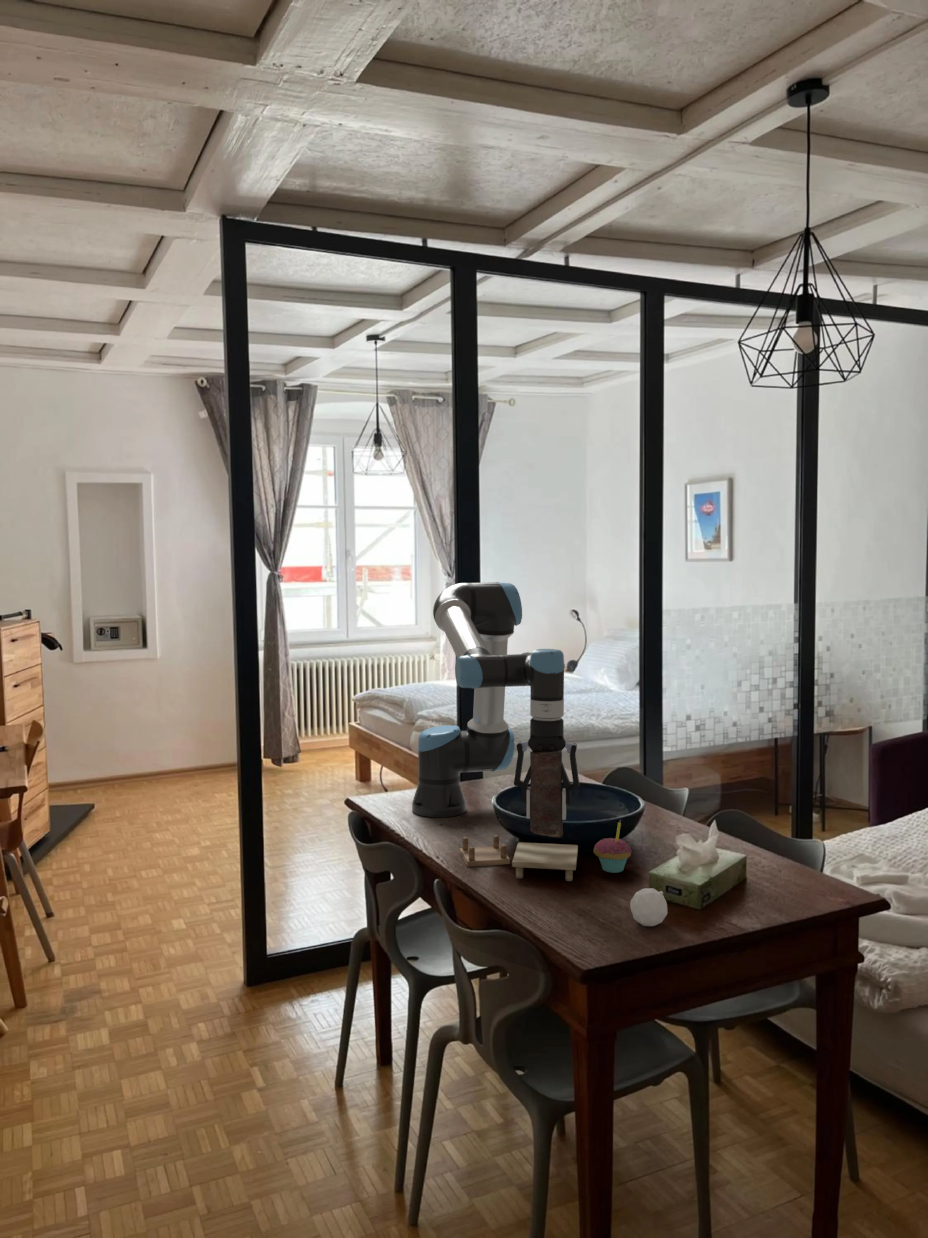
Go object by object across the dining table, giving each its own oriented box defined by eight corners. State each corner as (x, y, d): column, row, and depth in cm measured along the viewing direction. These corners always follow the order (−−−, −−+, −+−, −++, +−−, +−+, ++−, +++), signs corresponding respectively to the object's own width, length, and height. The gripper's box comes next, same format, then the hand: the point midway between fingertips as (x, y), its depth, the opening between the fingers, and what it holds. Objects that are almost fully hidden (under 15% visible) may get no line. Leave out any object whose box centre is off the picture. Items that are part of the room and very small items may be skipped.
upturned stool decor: (459, 853, 228) (459, 837, 228) (499, 850, 230) (499, 834, 230) (467, 866, 218) (467, 849, 218) (509, 864, 220) (509, 847, 220)
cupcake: (638, 869, 217) (639, 818, 216) (617, 878, 210) (618, 825, 209) (607, 860, 222) (607, 810, 222) (585, 869, 216) (586, 818, 215)
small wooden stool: (518, 858, 224) (518, 842, 223) (577, 862, 222) (577, 845, 221) (512, 879, 210) (512, 861, 210) (575, 882, 208) (575, 865, 207)
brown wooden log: (538, 841, 210) (539, 753, 209) (523, 832, 217) (524, 746, 215) (568, 837, 213) (569, 750, 212) (553, 829, 220) (553, 744, 218)
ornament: (645, 913, 190) (670, 886, 188) (656, 940, 183) (682, 912, 181) (618, 900, 188) (643, 872, 185) (628, 927, 181) (654, 898, 179)
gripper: (500, 719, 211) (500, 820, 213) (591, 722, 208) (590, 824, 209) (504, 713, 218) (503, 811, 220) (592, 716, 215) (591, 815, 217)
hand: (546, 817), depth 215 cm, fingers closed on brown wooden log, 7 cm apart
